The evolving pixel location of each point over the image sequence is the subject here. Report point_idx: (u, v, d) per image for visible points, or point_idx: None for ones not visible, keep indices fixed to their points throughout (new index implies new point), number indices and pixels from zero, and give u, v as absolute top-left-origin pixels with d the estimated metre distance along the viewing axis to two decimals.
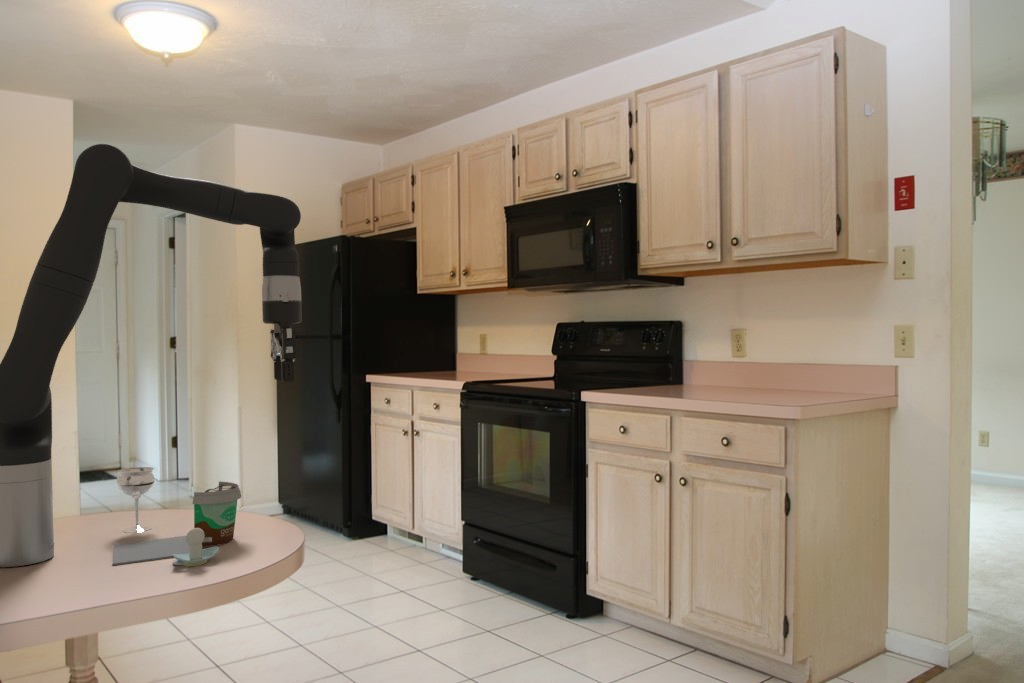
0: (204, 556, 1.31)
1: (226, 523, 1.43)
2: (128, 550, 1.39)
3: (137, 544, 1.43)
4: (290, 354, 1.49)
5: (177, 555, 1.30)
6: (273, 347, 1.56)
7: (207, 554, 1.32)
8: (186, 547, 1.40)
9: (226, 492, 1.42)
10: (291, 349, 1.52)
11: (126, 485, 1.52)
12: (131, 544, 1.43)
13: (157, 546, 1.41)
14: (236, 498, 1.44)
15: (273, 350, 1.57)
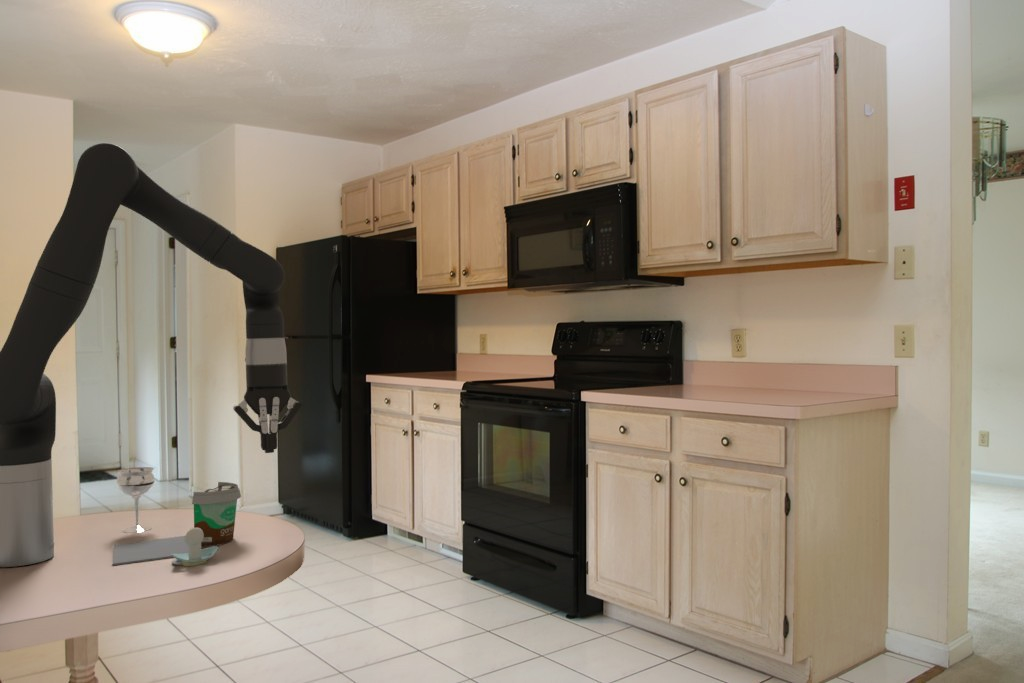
0: (203, 556, 1.32)
1: (226, 523, 1.43)
2: (128, 550, 1.39)
3: (137, 544, 1.43)
4: None
5: (176, 555, 1.30)
6: (266, 412, 1.47)
7: (206, 554, 1.32)
8: (186, 547, 1.40)
9: (225, 492, 1.42)
10: None
11: (126, 485, 1.52)
12: (131, 544, 1.43)
13: (157, 546, 1.41)
14: (236, 498, 1.44)
15: None
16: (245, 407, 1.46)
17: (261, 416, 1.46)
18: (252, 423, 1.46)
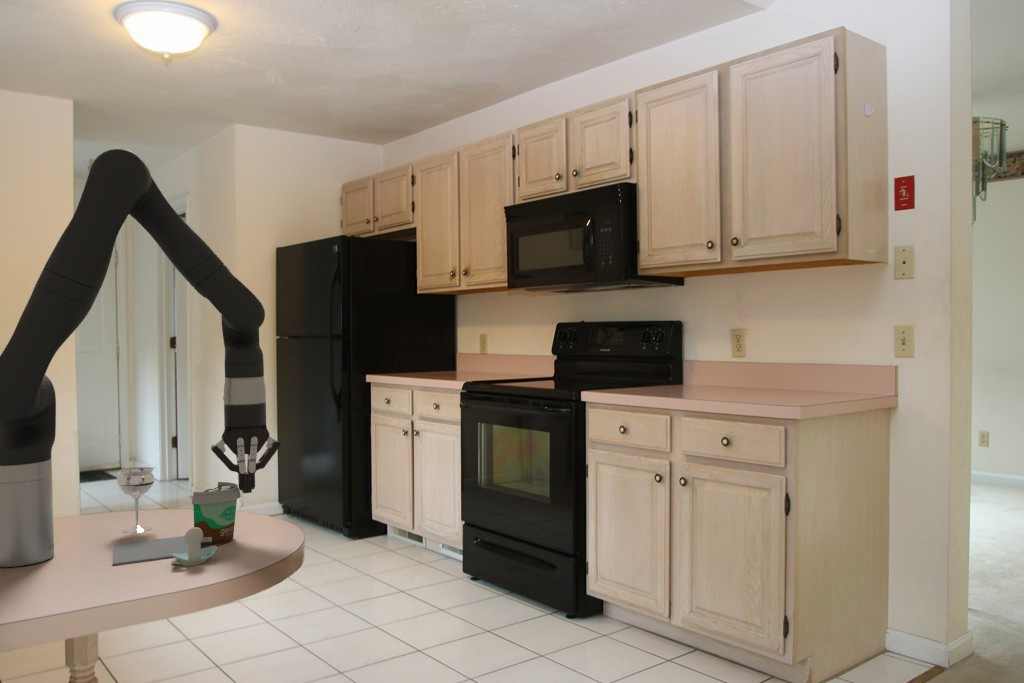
0: (203, 555, 1.32)
1: (226, 523, 1.43)
2: (128, 550, 1.39)
3: (137, 544, 1.43)
4: None
5: (176, 554, 1.31)
6: (244, 452, 1.45)
7: (206, 553, 1.32)
8: (186, 547, 1.40)
9: (225, 492, 1.42)
10: None
11: (126, 485, 1.52)
12: (131, 544, 1.43)
13: (157, 546, 1.41)
14: (235, 497, 1.44)
15: None
16: (223, 447, 1.45)
17: (239, 456, 1.45)
18: (230, 463, 1.44)
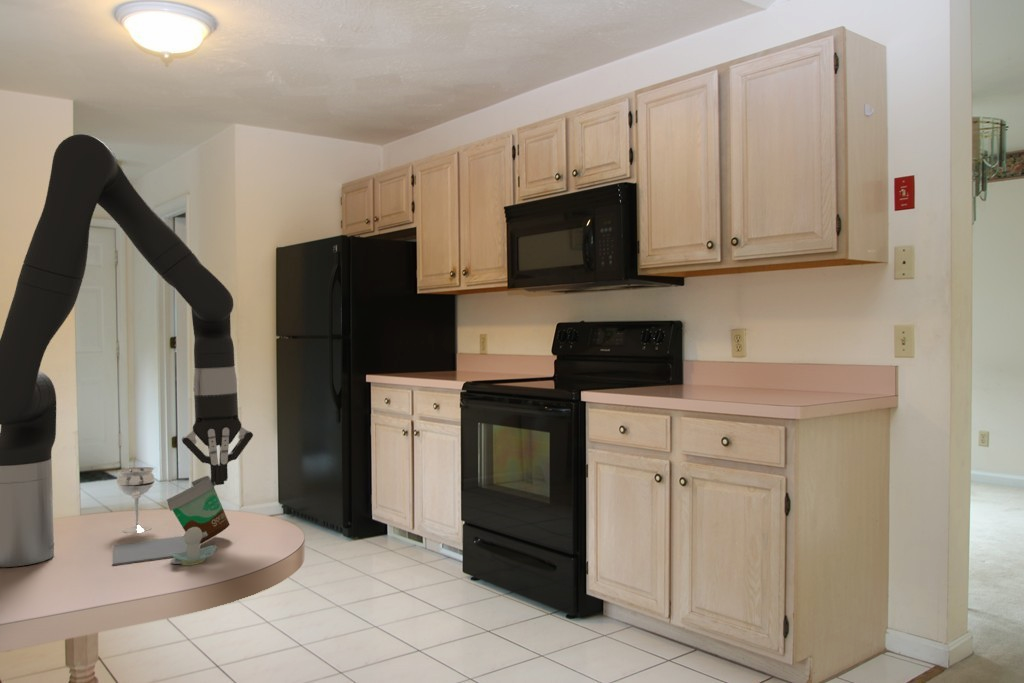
0: (202, 555, 1.32)
1: (213, 513, 1.42)
2: (128, 550, 1.39)
3: (137, 544, 1.43)
4: None
5: (175, 554, 1.31)
6: (216, 444, 1.43)
7: (205, 553, 1.33)
8: (186, 547, 1.40)
9: (197, 486, 1.41)
10: None
11: (126, 485, 1.52)
12: (131, 544, 1.43)
13: (157, 546, 1.41)
14: (210, 487, 1.43)
15: (216, 448, 1.43)
16: (194, 438, 1.43)
17: (210, 447, 1.43)
18: (201, 455, 1.42)
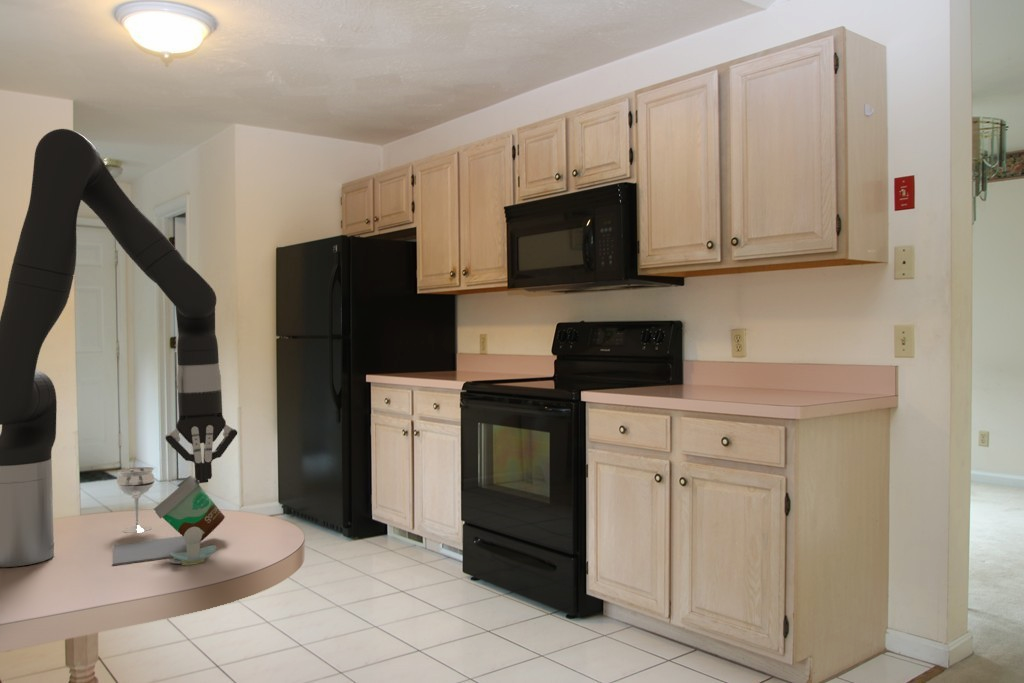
0: (202, 555, 1.32)
1: (204, 510, 1.42)
2: (128, 550, 1.39)
3: (137, 544, 1.43)
4: None
5: (175, 554, 1.31)
6: (199, 441, 1.42)
7: (205, 553, 1.33)
8: (186, 547, 1.40)
9: (180, 488, 1.40)
10: None
11: (126, 485, 1.52)
12: (131, 544, 1.43)
13: (157, 546, 1.41)
14: (194, 486, 1.42)
15: None
16: (177, 436, 1.41)
17: (194, 445, 1.42)
18: (184, 453, 1.41)
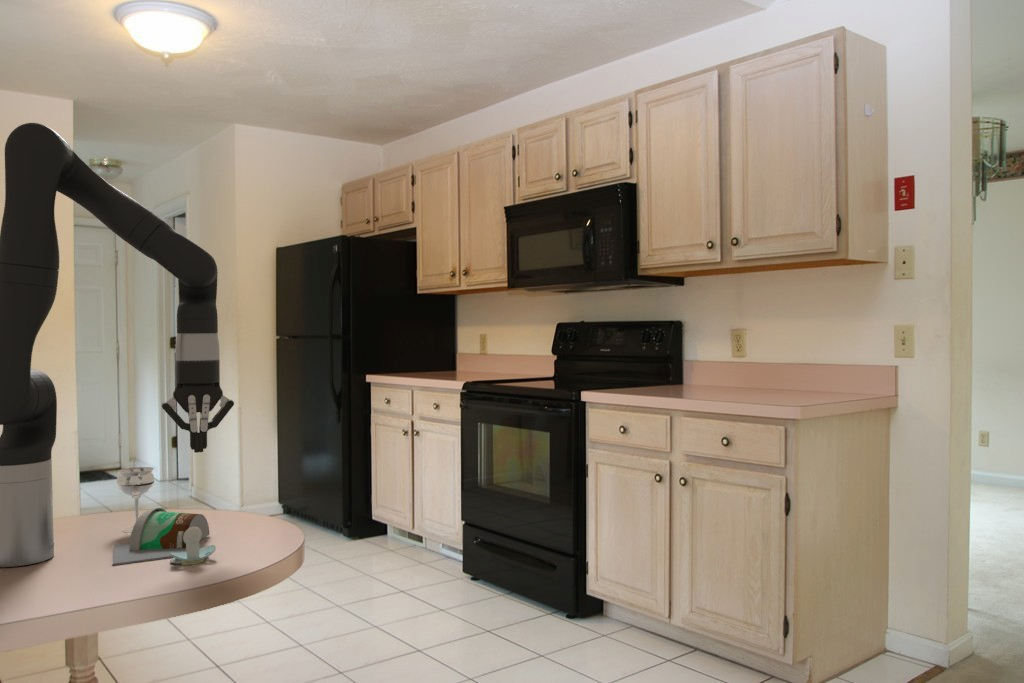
0: (201, 555, 1.32)
1: (172, 518, 1.42)
2: (128, 550, 1.39)
3: None
4: None
5: (174, 554, 1.31)
6: (196, 410, 1.42)
7: (204, 553, 1.33)
8: None
9: (139, 519, 1.42)
10: None
11: (126, 485, 1.52)
12: None
13: None
14: (151, 510, 1.44)
15: (196, 415, 1.42)
16: (174, 404, 1.41)
17: (190, 414, 1.41)
18: (180, 421, 1.41)
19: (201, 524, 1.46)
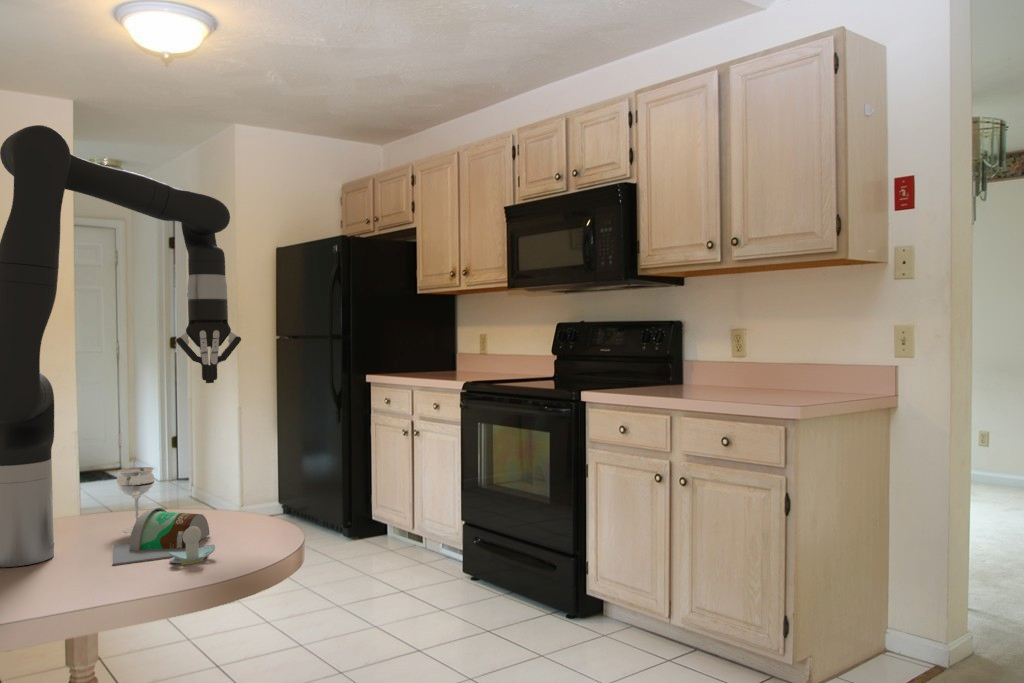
0: (201, 554, 1.33)
1: (172, 518, 1.42)
2: (128, 550, 1.39)
3: None
4: None
5: (174, 553, 1.31)
6: (207, 345, 1.56)
7: (204, 552, 1.33)
8: None
9: (139, 519, 1.42)
10: None
11: (126, 485, 1.52)
12: None
13: None
14: (151, 510, 1.44)
15: None
16: (186, 339, 1.56)
17: (201, 348, 1.56)
18: (193, 354, 1.56)
19: (201, 524, 1.46)
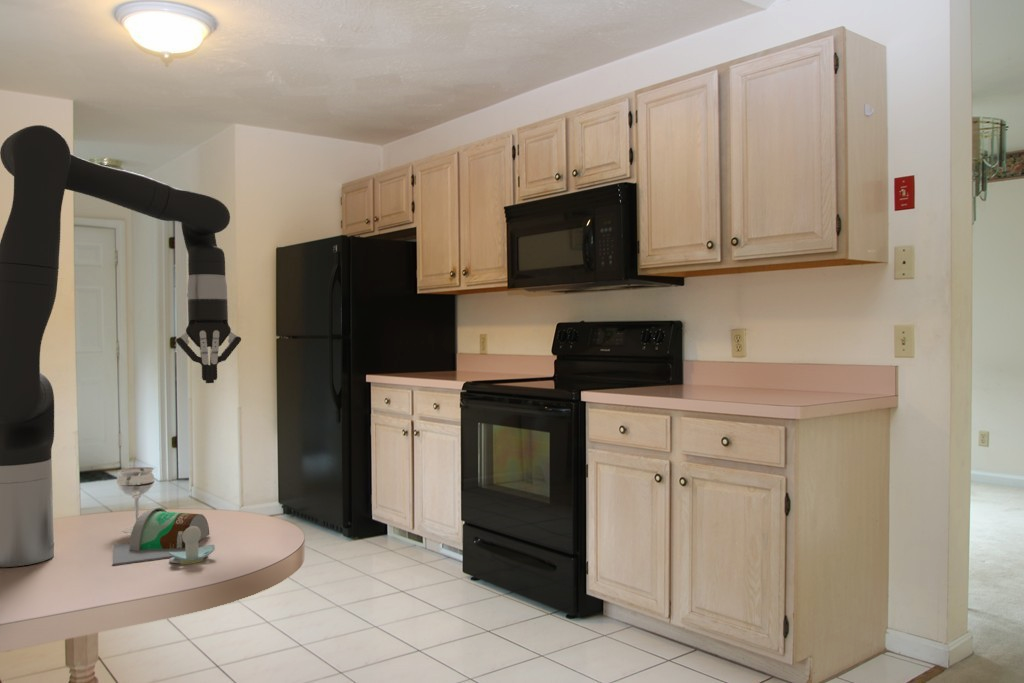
0: (200, 554, 1.33)
1: (172, 518, 1.42)
2: (128, 550, 1.39)
3: None
4: None
5: (174, 553, 1.32)
6: (207, 345, 1.56)
7: (203, 552, 1.33)
8: None
9: (139, 519, 1.42)
10: None
11: (126, 485, 1.52)
12: None
13: None
14: (151, 510, 1.44)
15: None
16: (186, 339, 1.56)
17: (201, 348, 1.56)
18: (193, 354, 1.56)
19: (201, 524, 1.46)
